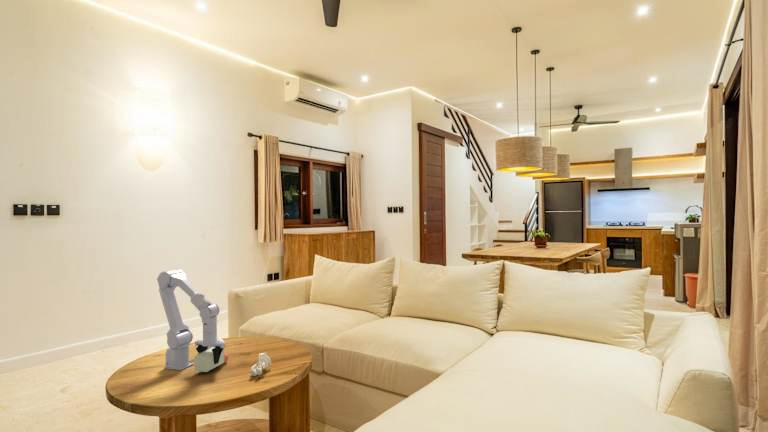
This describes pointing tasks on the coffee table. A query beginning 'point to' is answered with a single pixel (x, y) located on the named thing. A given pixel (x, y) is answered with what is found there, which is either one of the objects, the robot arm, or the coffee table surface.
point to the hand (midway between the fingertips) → (210, 362)
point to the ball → (225, 357)
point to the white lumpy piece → (260, 364)
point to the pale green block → (207, 360)
